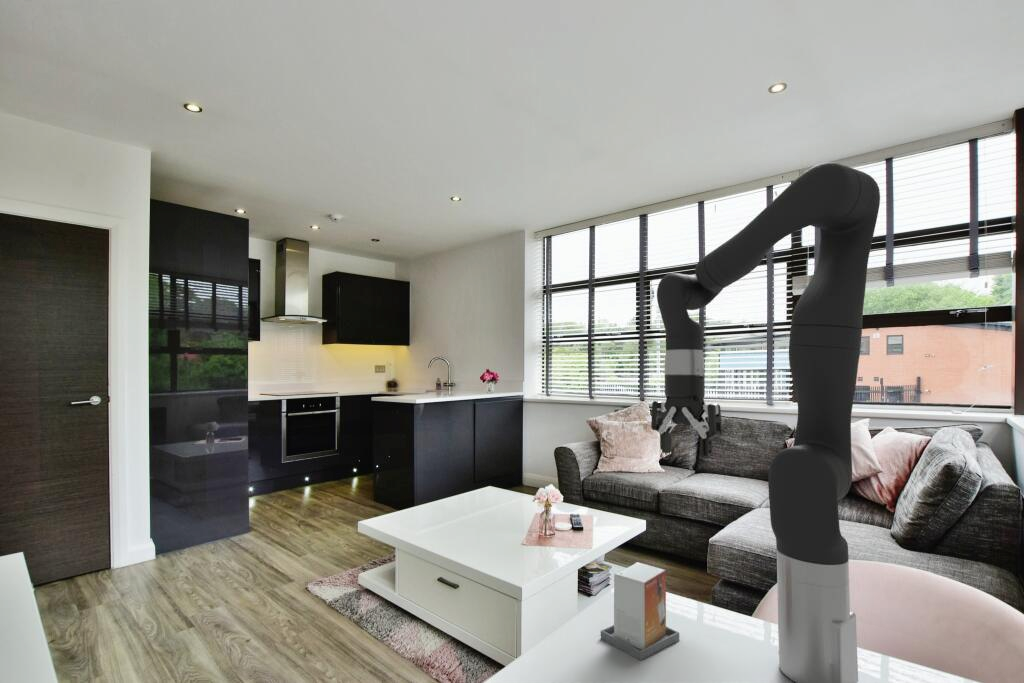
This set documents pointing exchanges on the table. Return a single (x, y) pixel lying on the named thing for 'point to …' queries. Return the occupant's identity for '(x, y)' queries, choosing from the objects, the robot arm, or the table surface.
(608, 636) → the tray
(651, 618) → the small box
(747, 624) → the table surface
